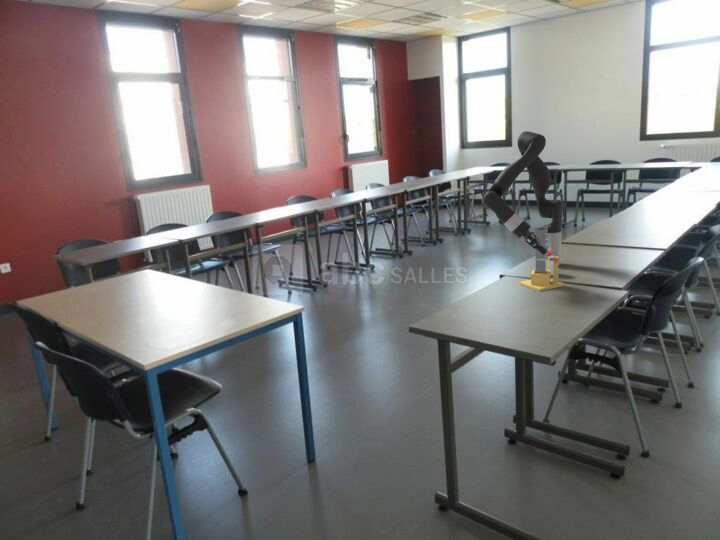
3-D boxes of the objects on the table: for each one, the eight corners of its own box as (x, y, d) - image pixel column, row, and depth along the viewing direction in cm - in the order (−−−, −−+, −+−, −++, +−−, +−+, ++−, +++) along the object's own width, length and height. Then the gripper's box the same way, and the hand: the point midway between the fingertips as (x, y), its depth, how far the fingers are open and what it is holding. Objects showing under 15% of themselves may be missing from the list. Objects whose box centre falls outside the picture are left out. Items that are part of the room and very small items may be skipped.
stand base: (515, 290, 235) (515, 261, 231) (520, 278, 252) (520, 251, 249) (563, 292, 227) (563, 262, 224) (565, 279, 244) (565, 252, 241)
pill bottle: (533, 273, 259) (533, 251, 256) (547, 271, 261) (547, 249, 258) (543, 276, 251) (543, 254, 249) (557, 274, 254) (557, 252, 251)
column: (534, 272, 237) (534, 229, 232) (535, 269, 241) (535, 227, 236) (547, 272, 234) (547, 229, 230) (548, 269, 239) (548, 227, 234)
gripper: (521, 222, 229) (551, 249, 227) (525, 216, 241) (553, 242, 240) (509, 234, 232) (538, 261, 230) (513, 228, 245) (540, 254, 243)
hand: (545, 251), depth 235 cm, fingers closed on column, 4 cm apart
